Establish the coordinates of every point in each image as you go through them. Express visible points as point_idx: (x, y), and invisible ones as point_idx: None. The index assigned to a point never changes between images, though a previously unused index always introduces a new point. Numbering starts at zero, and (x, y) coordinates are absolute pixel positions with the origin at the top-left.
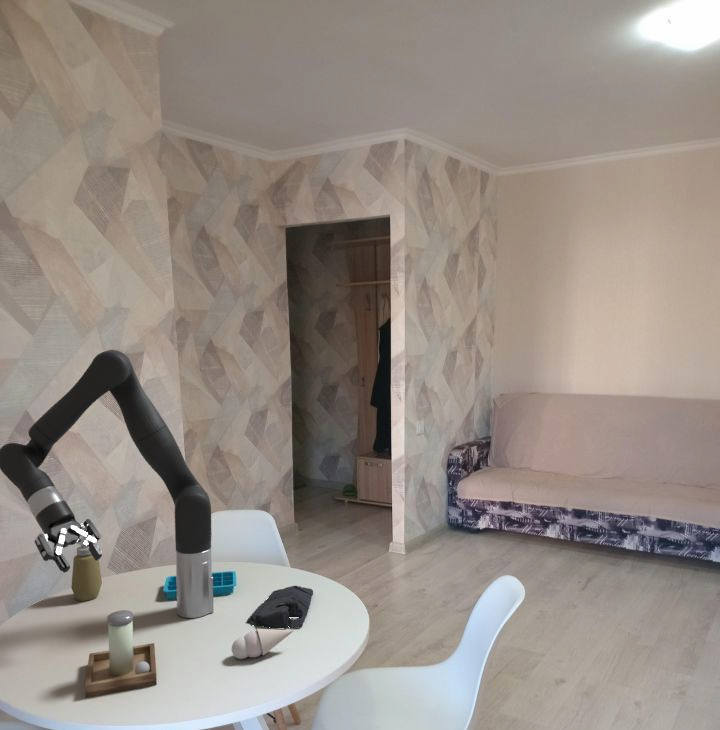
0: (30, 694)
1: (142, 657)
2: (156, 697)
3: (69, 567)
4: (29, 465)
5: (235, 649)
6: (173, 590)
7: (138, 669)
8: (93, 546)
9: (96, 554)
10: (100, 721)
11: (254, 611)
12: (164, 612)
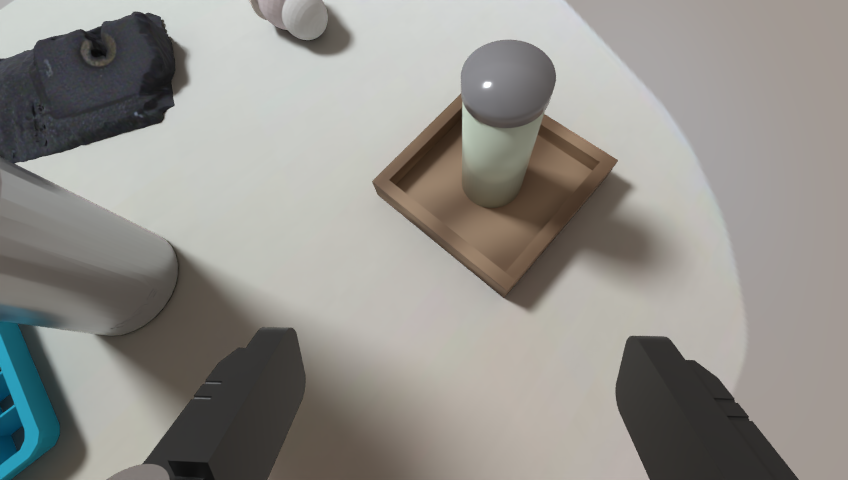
0: (692, 307)
1: (422, 183)
2: None
3: (637, 336)
4: None
5: (323, 7)
6: (25, 416)
7: None
8: (233, 430)
9: (283, 373)
10: (636, 84)
11: (111, 121)
12: (158, 363)
